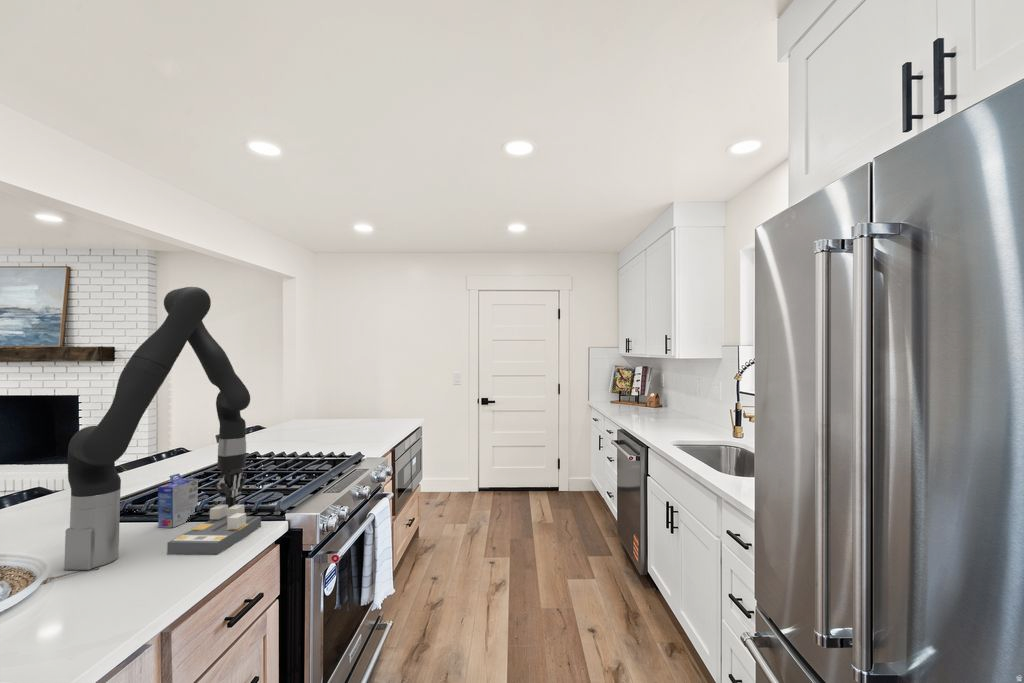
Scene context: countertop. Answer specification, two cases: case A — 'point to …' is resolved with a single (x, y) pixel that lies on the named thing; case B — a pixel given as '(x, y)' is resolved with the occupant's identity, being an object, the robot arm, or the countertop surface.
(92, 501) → the robot arm
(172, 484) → the ink cartridge box
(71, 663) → the countertop surface
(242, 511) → the middle tab
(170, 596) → the countertop surface
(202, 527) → the switch board
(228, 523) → the tab
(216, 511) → the tab
